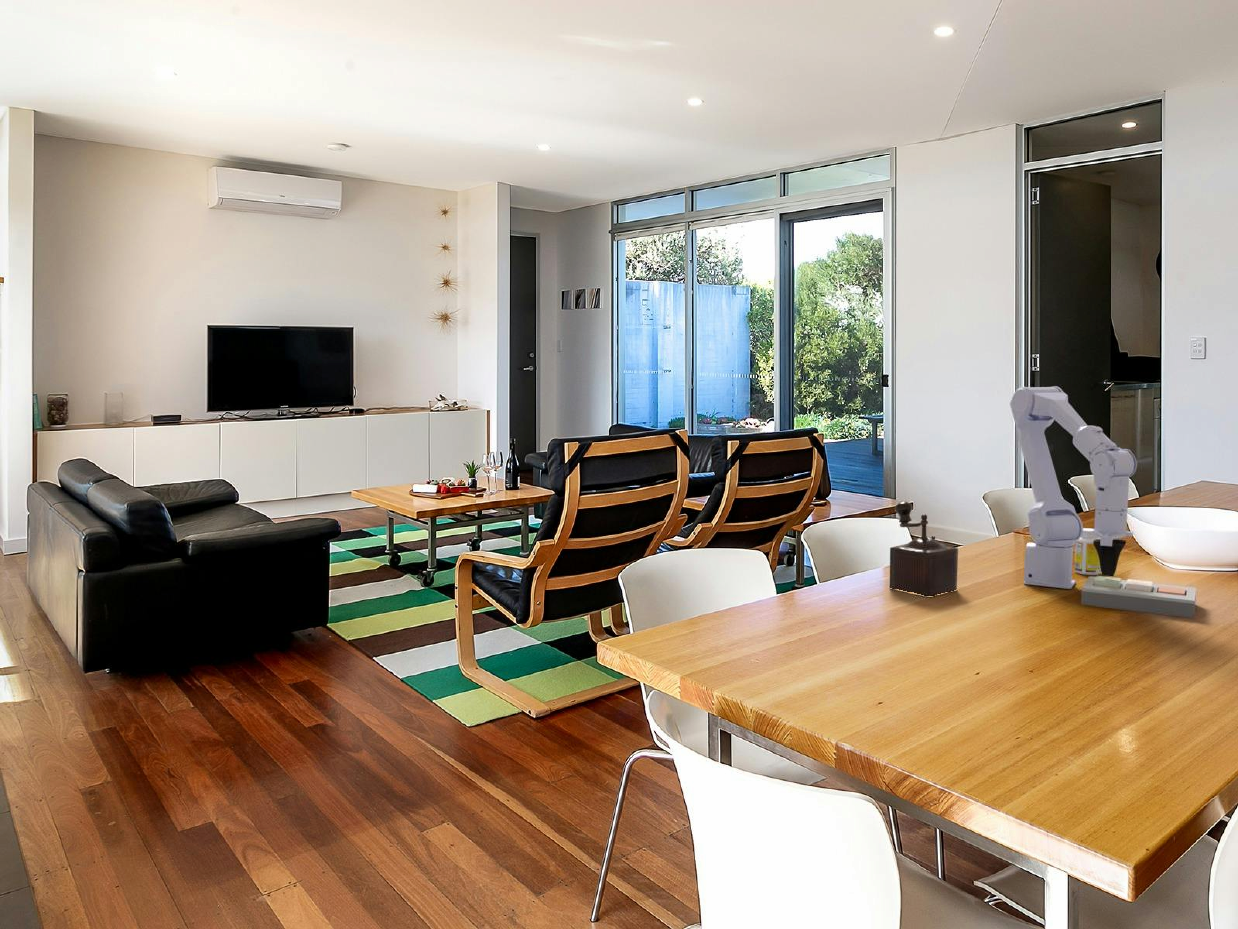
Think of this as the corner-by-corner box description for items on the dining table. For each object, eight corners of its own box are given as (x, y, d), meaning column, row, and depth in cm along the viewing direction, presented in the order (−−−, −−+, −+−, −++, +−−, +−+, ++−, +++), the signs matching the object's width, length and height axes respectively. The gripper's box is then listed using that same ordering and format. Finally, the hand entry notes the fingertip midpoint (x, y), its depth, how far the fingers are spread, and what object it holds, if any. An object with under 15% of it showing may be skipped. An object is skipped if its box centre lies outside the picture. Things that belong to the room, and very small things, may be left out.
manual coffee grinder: (960, 590, 195) (963, 507, 193) (929, 598, 189) (931, 512, 187) (900, 577, 208) (902, 499, 206) (868, 584, 201) (870, 504, 199)
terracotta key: (1157, 601, 179) (1158, 590, 179) (1158, 597, 182) (1159, 586, 182) (1183, 604, 176) (1184, 593, 176) (1184, 600, 180) (1185, 589, 180)
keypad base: (1081, 604, 183) (1081, 588, 183) (1088, 592, 193) (1089, 576, 193) (1193, 618, 172) (1194, 600, 172) (1195, 604, 182) (1196, 587, 182)
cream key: (1125, 594, 182) (1125, 583, 182) (1127, 589, 185) (1127, 579, 185) (1150, 597, 179) (1151, 586, 179) (1152, 592, 183) (1152, 581, 183)
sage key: (1093, 590, 185) (1094, 580, 185) (1096, 586, 188) (1096, 575, 188) (1118, 593, 182) (1119, 582, 182) (1120, 588, 186) (1121, 578, 186)
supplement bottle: (1105, 573, 210) (1107, 529, 209) (1094, 577, 207) (1096, 532, 206) (1080, 569, 215) (1082, 526, 214) (1069, 572, 211) (1071, 529, 210)
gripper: (1130, 515, 176) (1127, 584, 177) (1136, 506, 188) (1133, 570, 189) (1090, 512, 179) (1086, 580, 181) (1098, 503, 191) (1095, 567, 193)
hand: (1108, 575), depth 185 cm, fingers closed
